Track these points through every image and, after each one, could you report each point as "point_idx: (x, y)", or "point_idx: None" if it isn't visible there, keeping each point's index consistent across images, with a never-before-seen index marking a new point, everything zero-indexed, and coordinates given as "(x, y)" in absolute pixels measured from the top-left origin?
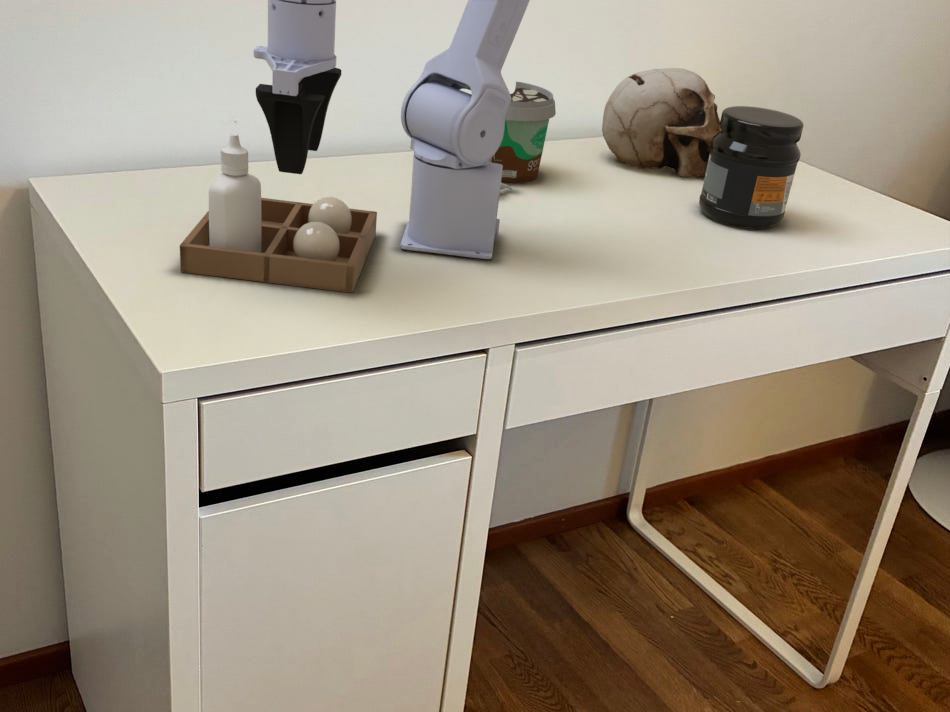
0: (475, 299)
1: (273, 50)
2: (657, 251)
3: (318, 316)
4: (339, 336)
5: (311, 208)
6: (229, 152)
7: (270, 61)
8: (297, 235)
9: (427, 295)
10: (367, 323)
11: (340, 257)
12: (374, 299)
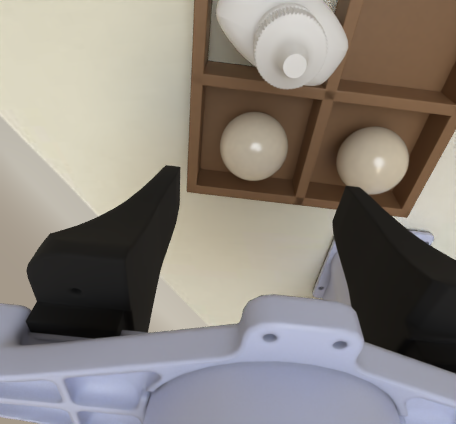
0: (208, 273)
1: (180, 395)
2: None
3: (109, 138)
4: (66, 161)
5: (377, 142)
6: (260, 43)
7: (96, 362)
8: (242, 128)
9: (207, 239)
10: (112, 187)
11: (295, 160)
12: (180, 193)
